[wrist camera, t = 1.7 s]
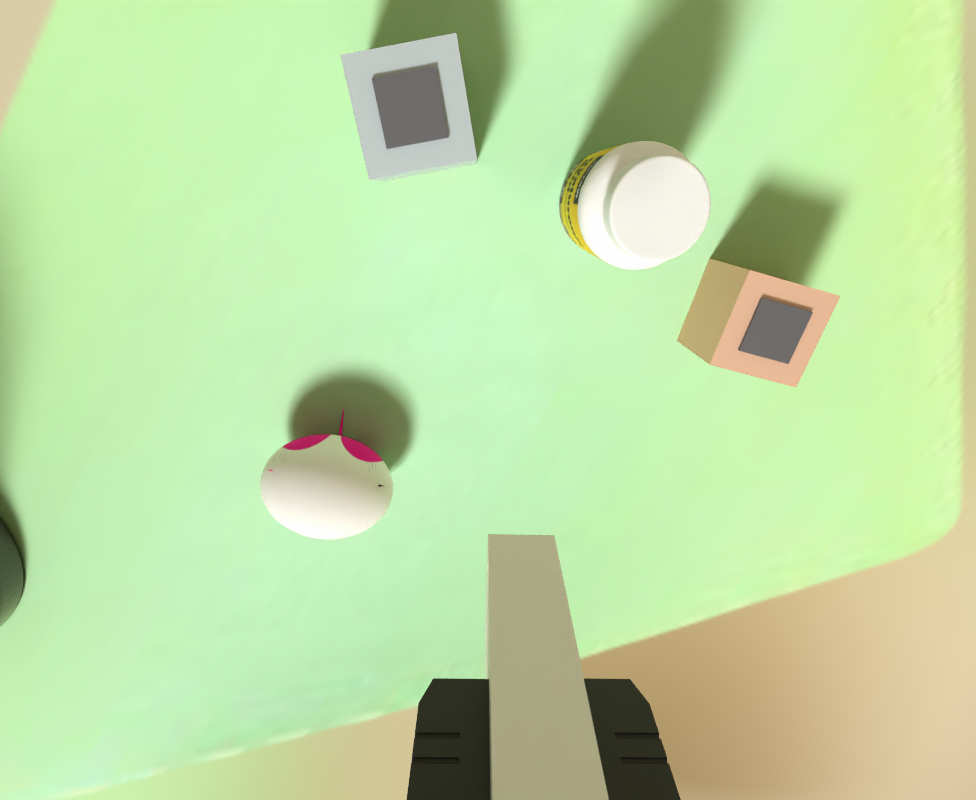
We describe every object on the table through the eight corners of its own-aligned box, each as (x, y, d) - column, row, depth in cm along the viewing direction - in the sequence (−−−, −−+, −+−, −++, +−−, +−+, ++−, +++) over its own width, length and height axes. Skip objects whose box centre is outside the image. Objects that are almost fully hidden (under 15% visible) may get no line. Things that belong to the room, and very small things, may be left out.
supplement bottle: (563, 145, 30) (604, 125, 21) (662, 154, 30) (747, 139, 21) (550, 250, 32) (583, 274, 23) (644, 258, 32) (714, 285, 23)
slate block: (384, 181, 30) (368, 179, 26) (361, 76, 29) (339, 54, 24) (476, 164, 30) (477, 159, 25) (458, 58, 28) (456, 31, 24)
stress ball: (404, 427, 39) (407, 405, 32) (383, 546, 37) (383, 548, 30) (291, 408, 38) (272, 383, 31) (263, 530, 36) (237, 528, 29)
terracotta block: (676, 340, 34) (711, 365, 29) (709, 258, 32) (751, 270, 27) (751, 360, 35) (798, 388, 30) (787, 281, 33) (842, 296, 28)
